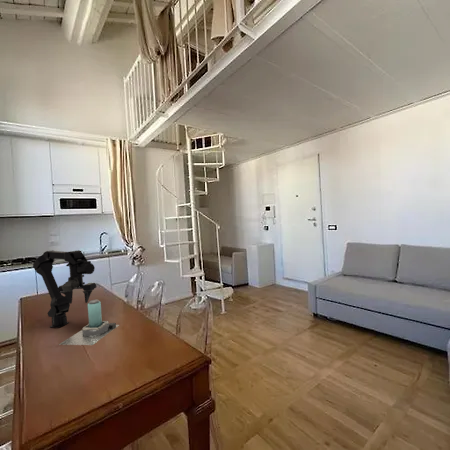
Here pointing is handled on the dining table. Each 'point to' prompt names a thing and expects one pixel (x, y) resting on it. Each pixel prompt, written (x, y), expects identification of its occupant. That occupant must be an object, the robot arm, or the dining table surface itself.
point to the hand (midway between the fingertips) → (78, 303)
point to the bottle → (94, 314)
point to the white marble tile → (90, 334)
